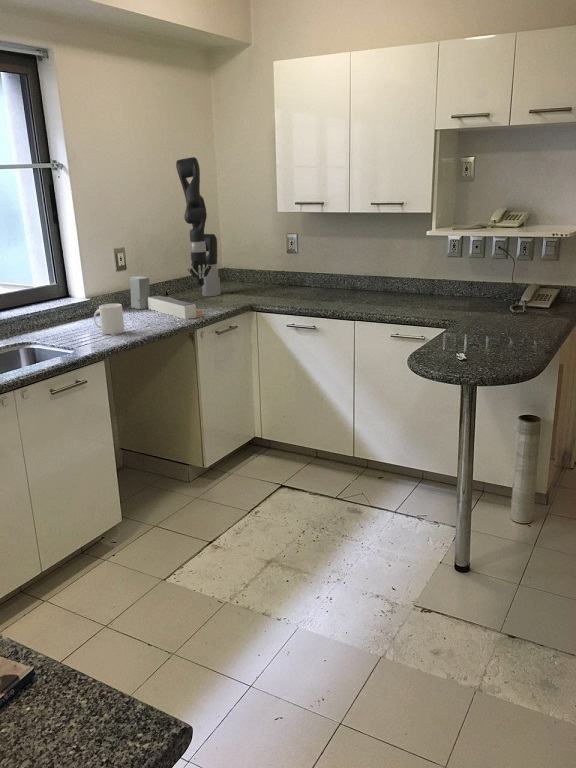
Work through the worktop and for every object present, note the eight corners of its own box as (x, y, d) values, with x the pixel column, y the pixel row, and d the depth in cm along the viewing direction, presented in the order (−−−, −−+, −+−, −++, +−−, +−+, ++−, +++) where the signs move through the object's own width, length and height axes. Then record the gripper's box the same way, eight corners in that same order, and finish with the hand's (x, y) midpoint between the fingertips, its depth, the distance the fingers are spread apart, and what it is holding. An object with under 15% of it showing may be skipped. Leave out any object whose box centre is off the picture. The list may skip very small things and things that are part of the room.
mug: (125, 333, 277) (122, 306, 273) (96, 336, 274) (92, 309, 270) (123, 329, 286) (121, 302, 282) (95, 331, 282) (92, 305, 279)
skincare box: (131, 308, 332) (127, 277, 327) (142, 306, 337) (139, 275, 332) (140, 310, 326) (137, 278, 322) (152, 307, 331) (149, 276, 326)
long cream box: (164, 306, 333) (163, 294, 331) (201, 316, 307) (201, 303, 305) (148, 309, 328) (147, 296, 326) (185, 319, 301) (184, 305, 300)
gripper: (205, 248, 325) (208, 283, 330) (182, 251, 317) (185, 286, 322) (213, 249, 319) (216, 284, 325) (190, 252, 311) (193, 288, 317)
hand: (201, 285), depth 324 cm, fingers closed
